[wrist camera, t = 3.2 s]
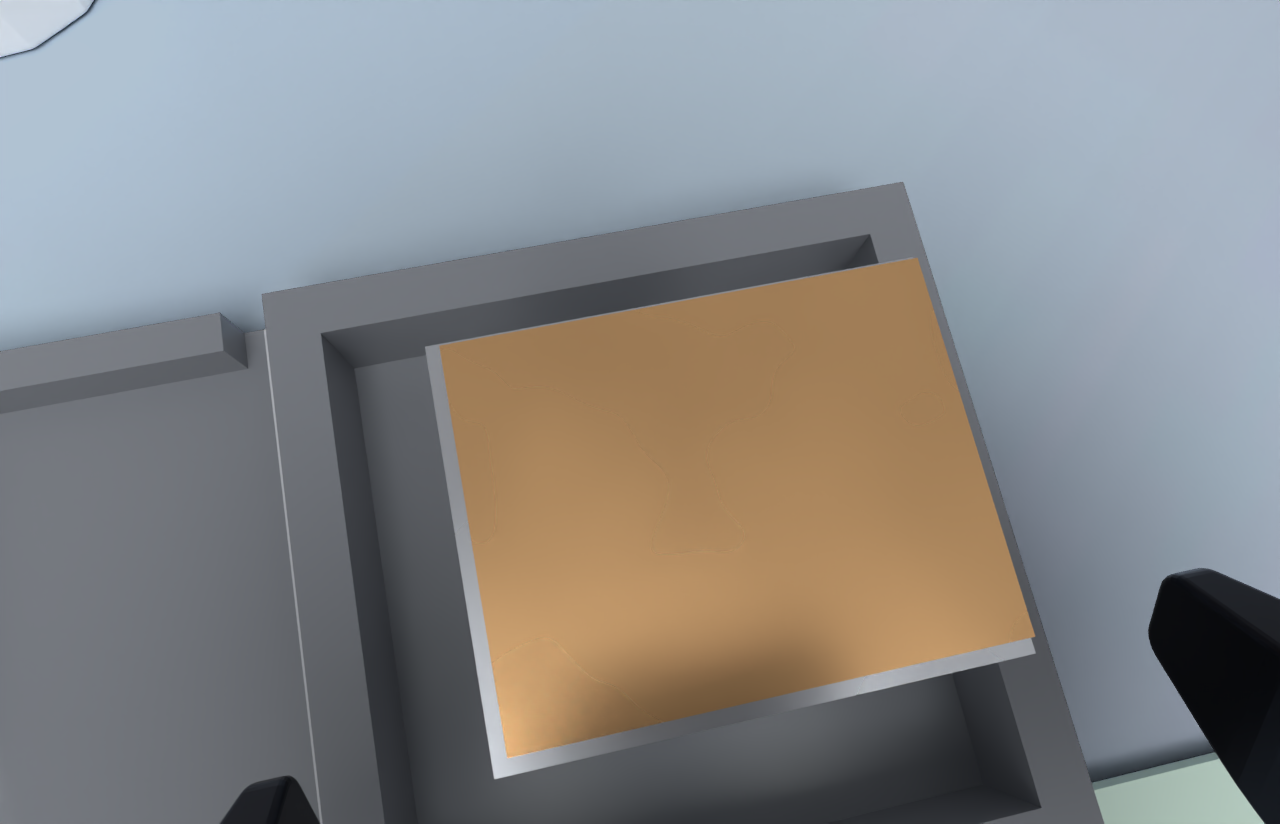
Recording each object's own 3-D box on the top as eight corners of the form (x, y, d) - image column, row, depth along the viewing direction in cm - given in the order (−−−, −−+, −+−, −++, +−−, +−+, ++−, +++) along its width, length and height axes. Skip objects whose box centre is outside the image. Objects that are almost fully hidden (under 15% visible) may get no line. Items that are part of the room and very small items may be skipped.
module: (795, 638, 18) (1064, 655, 7) (554, 692, 17) (487, 789, 7) (748, 451, 18) (931, 235, 8) (519, 497, 18) (413, 329, 8)
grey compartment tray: (1041, 823, 17) (1114, 855, 15) (-412, 1190, 15) (-615, 1303, 12) (866, 235, 20) (903, 181, 18) (-365, 457, 18) (-520, 430, 15)
